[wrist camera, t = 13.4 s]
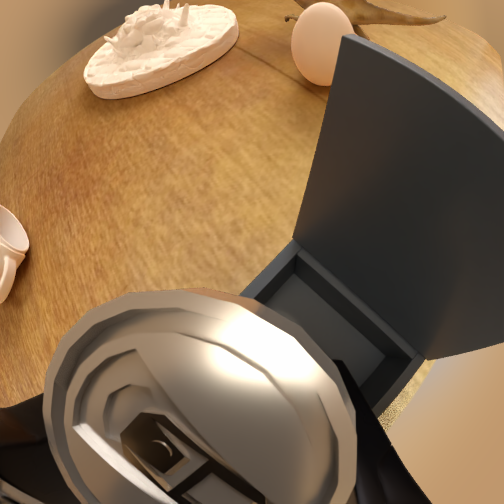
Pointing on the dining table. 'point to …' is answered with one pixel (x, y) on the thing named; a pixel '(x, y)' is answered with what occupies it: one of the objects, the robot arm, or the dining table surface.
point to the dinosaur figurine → (368, 14)
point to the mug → (10, 249)
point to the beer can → (197, 405)
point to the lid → (409, 201)
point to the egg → (319, 41)
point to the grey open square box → (338, 323)
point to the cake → (160, 48)
